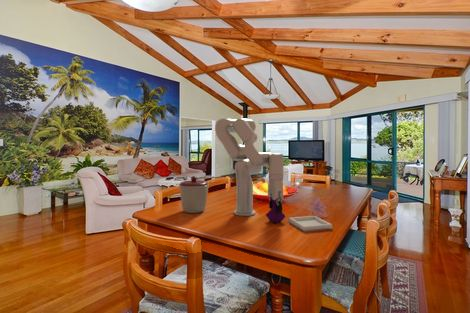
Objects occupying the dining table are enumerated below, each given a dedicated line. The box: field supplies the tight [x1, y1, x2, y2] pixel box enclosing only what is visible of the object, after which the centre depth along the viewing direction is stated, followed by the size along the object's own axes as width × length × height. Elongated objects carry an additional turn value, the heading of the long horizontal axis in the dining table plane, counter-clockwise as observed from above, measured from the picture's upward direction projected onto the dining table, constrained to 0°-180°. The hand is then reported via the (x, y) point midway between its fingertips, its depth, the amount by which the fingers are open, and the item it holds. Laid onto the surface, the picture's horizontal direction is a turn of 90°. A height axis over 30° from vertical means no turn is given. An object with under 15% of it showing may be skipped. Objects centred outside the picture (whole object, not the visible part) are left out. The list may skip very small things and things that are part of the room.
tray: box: [288, 215, 333, 233], centre depth 128 cm, size 15×15×2 cm
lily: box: [307, 196, 328, 218], centre depth 145 cm, size 12×12×10 cm
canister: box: [178, 175, 210, 214], centre depth 153 cm, size 18×18×21 cm
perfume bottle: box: [265, 194, 286, 224], centre depth 133 cm, size 8×8×18 cm
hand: (275, 210), depth 133 cm, fingers open, 7 cm apart
